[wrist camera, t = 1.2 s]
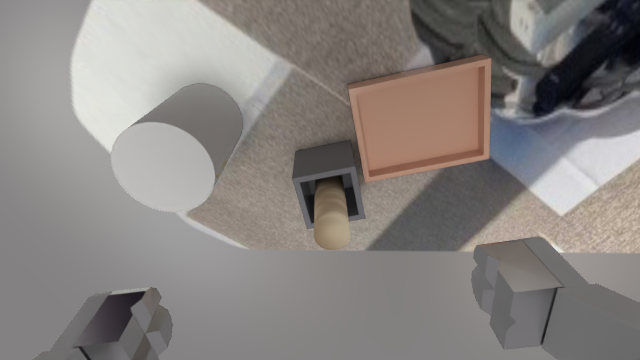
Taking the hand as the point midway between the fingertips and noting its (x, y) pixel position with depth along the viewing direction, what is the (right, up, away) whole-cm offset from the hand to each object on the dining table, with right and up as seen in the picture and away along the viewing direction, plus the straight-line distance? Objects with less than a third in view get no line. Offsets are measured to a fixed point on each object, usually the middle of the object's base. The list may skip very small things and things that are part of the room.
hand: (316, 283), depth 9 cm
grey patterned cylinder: (-13, +9, +29) cm, 33 cm away
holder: (+1, +4, +32) cm, 33 cm away
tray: (+11, +9, +29) cm, 33 cm away
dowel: (+1, +4, +32) cm, 32 cm away
